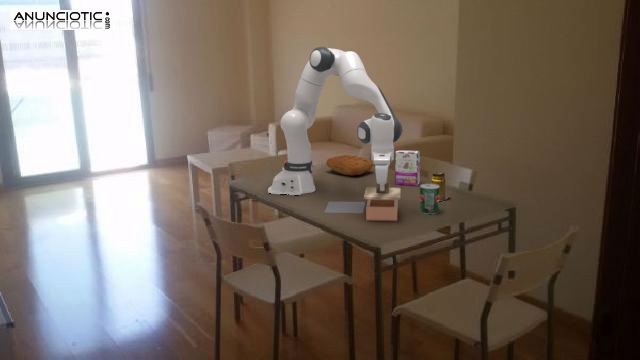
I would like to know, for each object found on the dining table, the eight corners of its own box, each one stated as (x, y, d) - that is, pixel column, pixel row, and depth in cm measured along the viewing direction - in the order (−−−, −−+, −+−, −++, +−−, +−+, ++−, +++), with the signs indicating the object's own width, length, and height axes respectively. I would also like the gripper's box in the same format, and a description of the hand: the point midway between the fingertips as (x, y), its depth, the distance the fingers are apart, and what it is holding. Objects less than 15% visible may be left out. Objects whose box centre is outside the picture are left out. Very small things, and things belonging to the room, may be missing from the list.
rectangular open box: (366, 221, 238) (366, 207, 236) (368, 212, 249) (368, 198, 248) (396, 222, 236) (397, 207, 234) (397, 213, 247) (397, 199, 246)
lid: (363, 198, 234) (363, 188, 233) (366, 189, 248) (366, 179, 247) (400, 199, 233) (400, 188, 231) (400, 189, 246) (400, 179, 245)
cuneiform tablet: (323, 172, 318) (323, 157, 316) (346, 167, 329) (346, 152, 327) (354, 179, 302) (354, 164, 300) (376, 173, 314) (376, 158, 312)
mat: (324, 213, 249) (324, 212, 249) (329, 202, 264) (329, 201, 264) (362, 214, 247) (362, 213, 246) (365, 203, 262) (365, 202, 262)
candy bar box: (419, 183, 291) (420, 150, 287) (417, 186, 287) (418, 152, 282) (397, 182, 295) (397, 149, 291) (394, 184, 291) (394, 151, 287)
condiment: (427, 199, 265) (427, 173, 262) (436, 195, 271) (437, 169, 268) (441, 202, 261) (442, 175, 258) (451, 198, 267) (452, 171, 264)
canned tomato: (442, 213, 246) (443, 187, 243) (424, 215, 244) (425, 189, 241) (433, 207, 253) (434, 182, 250) (416, 209, 251) (416, 184, 248)
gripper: (375, 149, 247) (375, 182, 250) (373, 160, 227) (373, 196, 230) (391, 149, 246) (391, 182, 249) (389, 161, 226) (389, 196, 230)
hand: (382, 189), depth 240 cm, fingers closed on lid, 2 cm apart
